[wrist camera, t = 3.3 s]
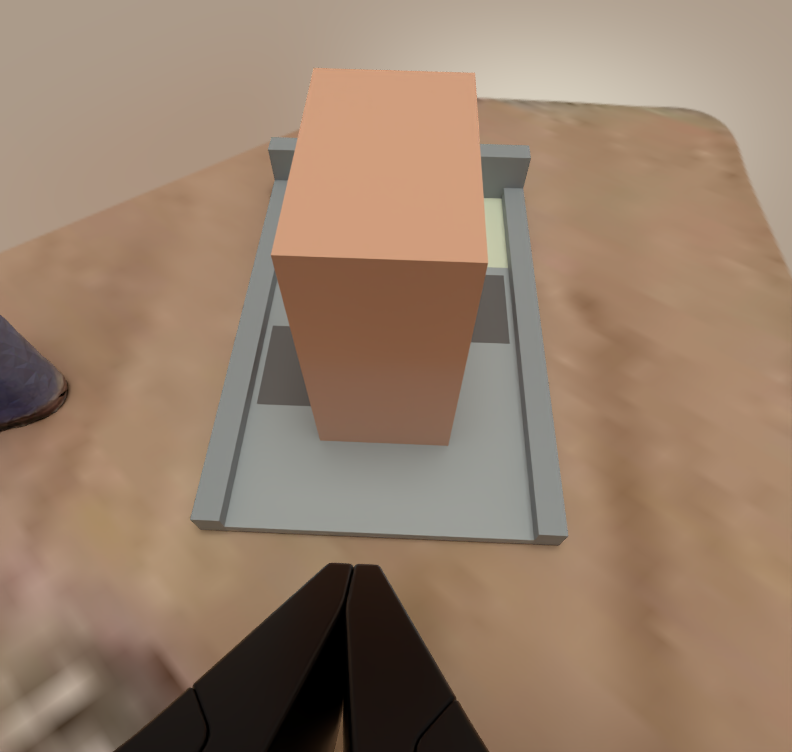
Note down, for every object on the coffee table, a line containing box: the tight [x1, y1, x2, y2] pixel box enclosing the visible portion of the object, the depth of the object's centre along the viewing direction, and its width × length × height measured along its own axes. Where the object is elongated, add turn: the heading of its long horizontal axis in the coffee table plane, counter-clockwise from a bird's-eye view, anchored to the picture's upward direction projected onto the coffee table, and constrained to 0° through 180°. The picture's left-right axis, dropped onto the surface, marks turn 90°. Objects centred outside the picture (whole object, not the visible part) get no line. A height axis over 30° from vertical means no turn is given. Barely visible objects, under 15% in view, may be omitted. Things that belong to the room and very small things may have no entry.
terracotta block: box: [271, 68, 488, 446], centre depth 19 cm, size 8×5×10 cm, turn 178°
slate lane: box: [190, 137, 568, 545], centre depth 23 cm, size 19×13×3 cm
